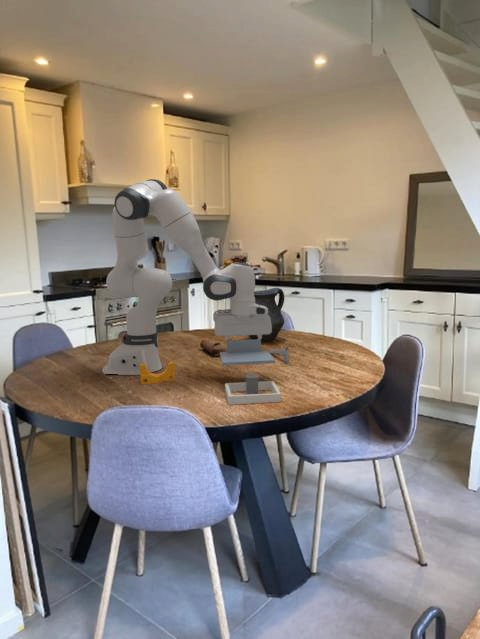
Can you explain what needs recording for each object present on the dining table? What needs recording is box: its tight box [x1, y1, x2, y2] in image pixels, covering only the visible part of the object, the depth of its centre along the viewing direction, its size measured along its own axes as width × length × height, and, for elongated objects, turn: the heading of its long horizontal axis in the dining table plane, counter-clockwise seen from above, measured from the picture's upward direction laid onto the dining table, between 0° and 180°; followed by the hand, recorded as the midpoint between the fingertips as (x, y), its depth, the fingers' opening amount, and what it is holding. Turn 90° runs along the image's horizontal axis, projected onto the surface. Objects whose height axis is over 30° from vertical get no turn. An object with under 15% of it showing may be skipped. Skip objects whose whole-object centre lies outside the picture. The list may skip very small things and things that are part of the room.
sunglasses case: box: [199, 339, 227, 357], centre depth 225 cm, size 18×7×7 cm
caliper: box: [268, 346, 290, 364], centre depth 211 cm, size 20×1×6 cm, turn 17°
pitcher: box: [248, 287, 285, 343], centre depth 245 cm, size 21×22×25 cm
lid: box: [219, 339, 276, 367], centre depth 175 cm, size 17×15×5 cm
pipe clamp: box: [139, 361, 176, 385], centre depth 181 cm, size 12×4×6 cm, turn 103°
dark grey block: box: [245, 374, 259, 395], centre depth 162 cm, size 4×4×7 cm
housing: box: [224, 380, 282, 406], centre depth 162 cm, size 16×14×3 cm
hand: (243, 347), depth 183 cm, fingers open, 8 cm apart
